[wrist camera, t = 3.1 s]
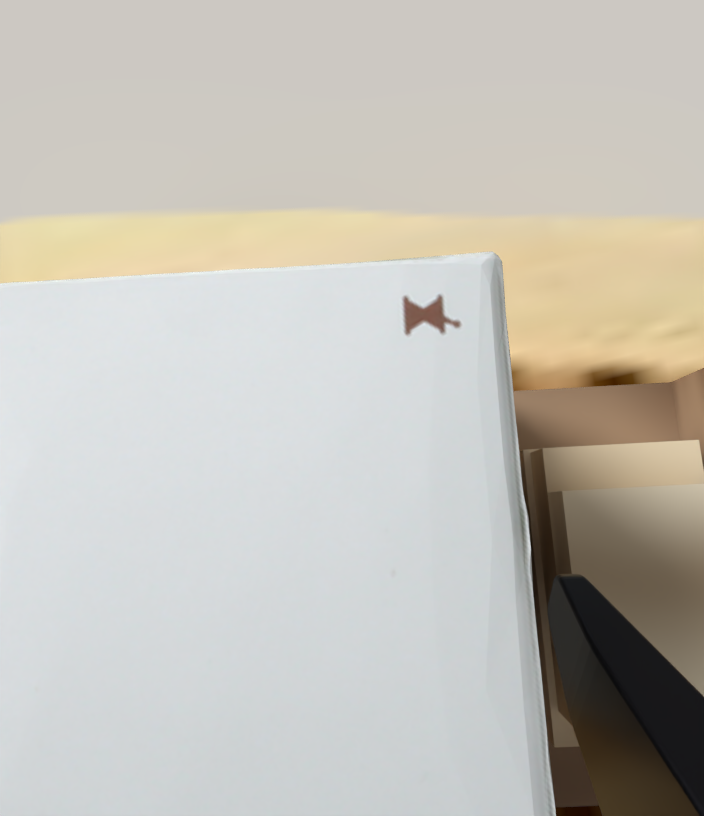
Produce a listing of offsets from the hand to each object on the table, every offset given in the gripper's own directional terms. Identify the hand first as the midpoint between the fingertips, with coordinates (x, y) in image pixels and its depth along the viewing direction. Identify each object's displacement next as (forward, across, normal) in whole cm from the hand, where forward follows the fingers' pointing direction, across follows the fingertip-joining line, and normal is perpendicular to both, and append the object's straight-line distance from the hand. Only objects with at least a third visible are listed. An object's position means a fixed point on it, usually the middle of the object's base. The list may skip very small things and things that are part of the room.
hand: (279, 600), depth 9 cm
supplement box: (+7, 0, +6) cm, 10 cm away
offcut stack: (+5, -8, +6) cm, 12 cm away
